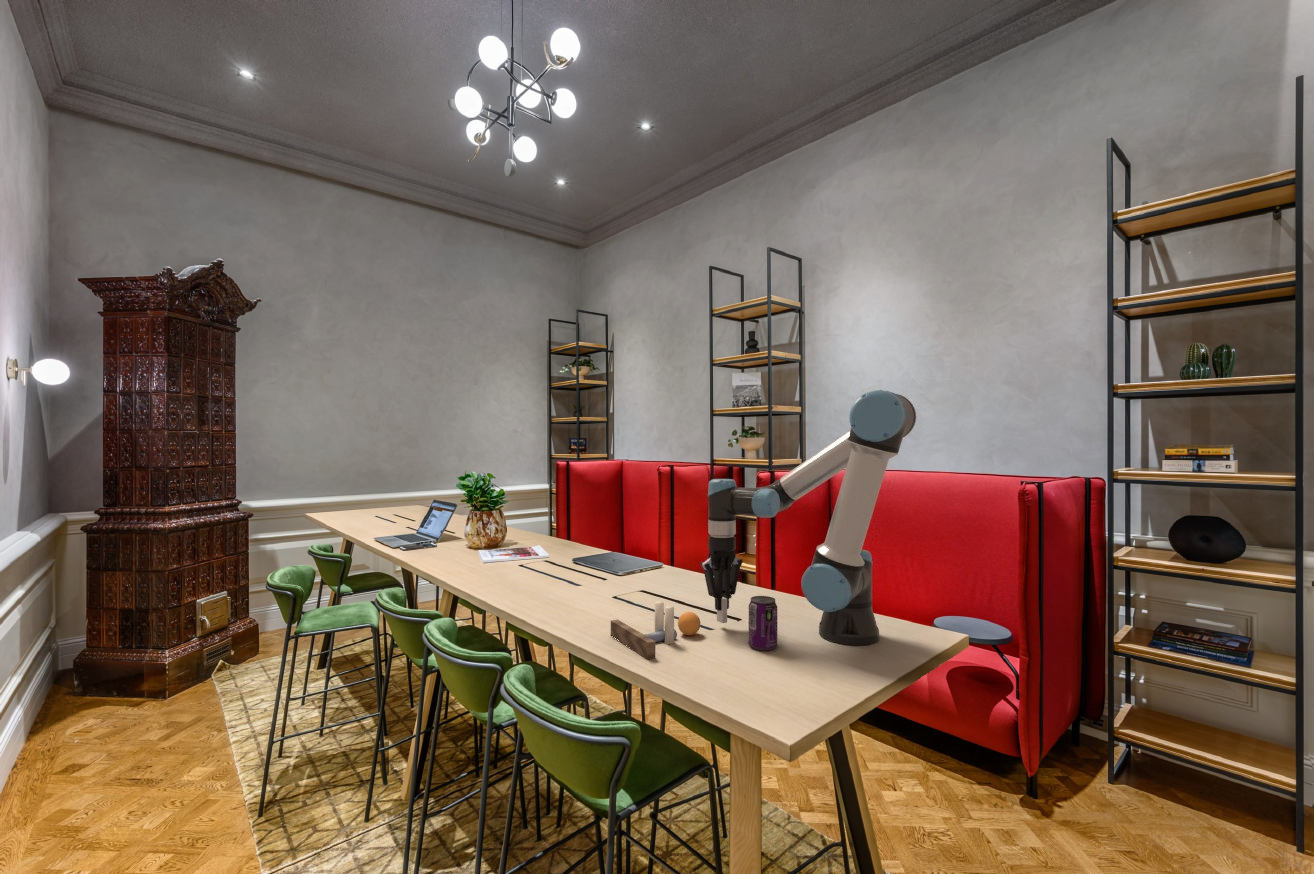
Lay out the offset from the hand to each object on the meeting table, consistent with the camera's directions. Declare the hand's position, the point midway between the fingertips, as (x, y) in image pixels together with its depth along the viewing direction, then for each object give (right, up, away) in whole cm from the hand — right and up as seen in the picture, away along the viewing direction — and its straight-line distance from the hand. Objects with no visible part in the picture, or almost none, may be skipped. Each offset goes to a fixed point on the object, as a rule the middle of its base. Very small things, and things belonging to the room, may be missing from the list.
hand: (722, 621), depth 162 cm
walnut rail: (-24, -2, -14) cm, 28 cm away
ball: (-9, +1, -5) cm, 11 cm away
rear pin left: (-15, -2, -12) cm, 19 cm away
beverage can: (+9, -2, -15) cm, 17 cm away
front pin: (-13, -1, -8) cm, 15 cm away
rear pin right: (-17, -2, -7) cm, 19 cm away
